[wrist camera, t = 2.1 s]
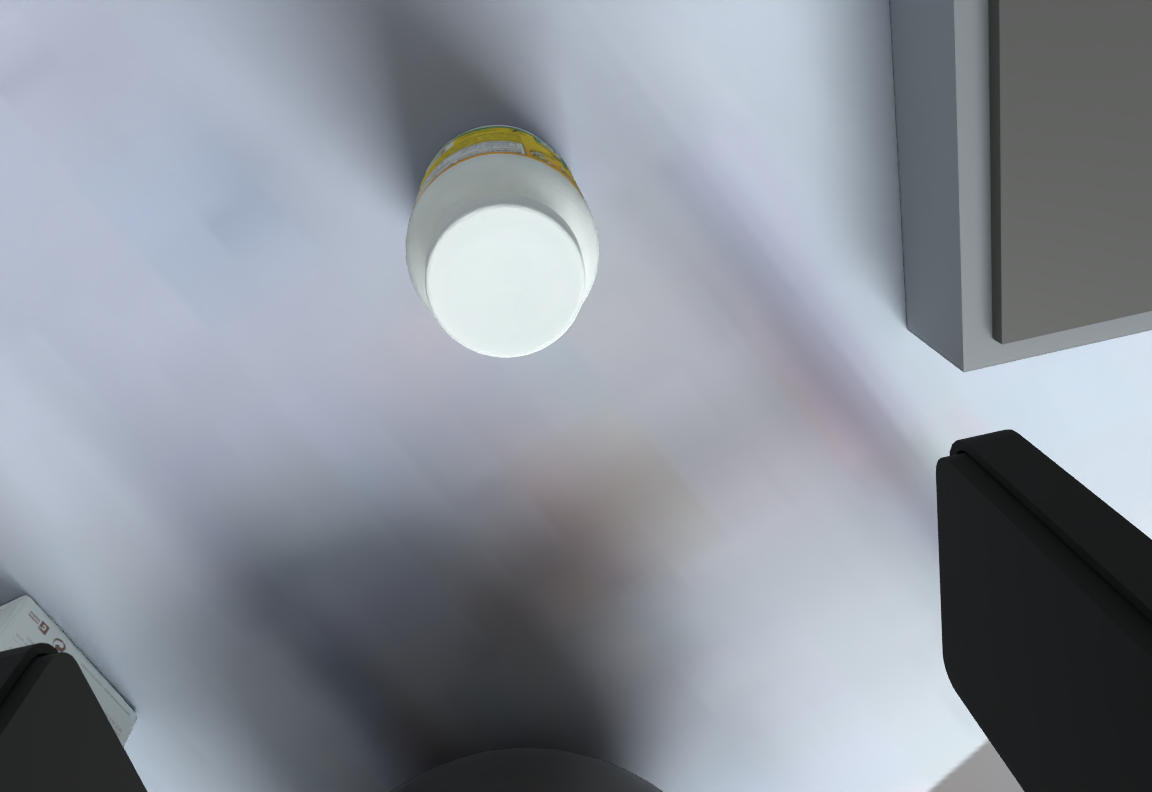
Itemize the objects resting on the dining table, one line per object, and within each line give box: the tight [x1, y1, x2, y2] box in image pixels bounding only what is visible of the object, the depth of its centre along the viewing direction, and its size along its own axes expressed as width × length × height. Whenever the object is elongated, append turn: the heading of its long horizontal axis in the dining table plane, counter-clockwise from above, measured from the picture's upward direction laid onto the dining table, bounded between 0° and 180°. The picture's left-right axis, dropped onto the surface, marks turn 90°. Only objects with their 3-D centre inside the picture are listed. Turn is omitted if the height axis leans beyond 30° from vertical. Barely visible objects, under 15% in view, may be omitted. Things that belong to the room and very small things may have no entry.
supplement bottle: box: [406, 125, 599, 357], centre depth 27 cm, size 5×5×10 cm
